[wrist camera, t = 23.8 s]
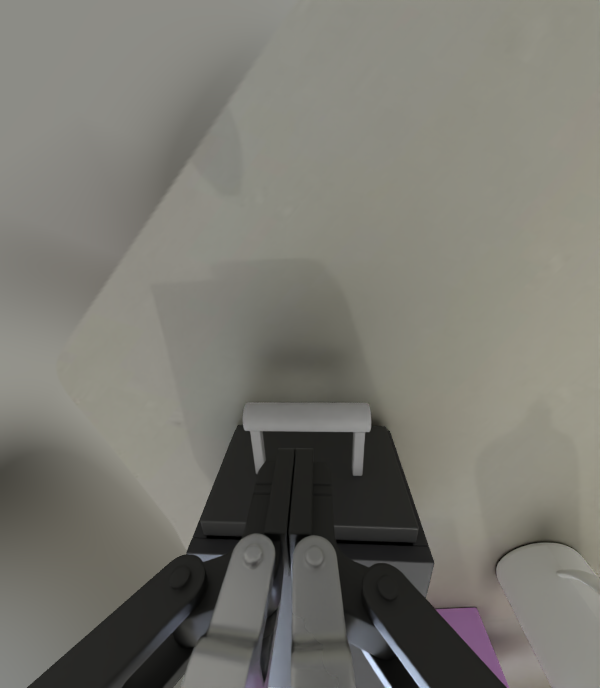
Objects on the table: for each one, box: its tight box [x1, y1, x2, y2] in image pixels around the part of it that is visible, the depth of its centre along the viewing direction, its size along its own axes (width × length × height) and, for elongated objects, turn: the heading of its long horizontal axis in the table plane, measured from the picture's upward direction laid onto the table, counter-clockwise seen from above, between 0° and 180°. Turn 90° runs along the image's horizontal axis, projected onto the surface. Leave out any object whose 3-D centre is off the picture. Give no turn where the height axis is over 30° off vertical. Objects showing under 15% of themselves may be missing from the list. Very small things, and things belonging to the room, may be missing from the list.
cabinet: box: [187, 430, 434, 688], centre depth 22 cm, size 16×13×10 cm
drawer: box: [200, 402, 419, 545], centre depth 20 cm, size 20×11×8 cm, turn 2°
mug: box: [496, 543, 600, 688], centre depth 23 cm, size 12×8×10 cm, turn 10°
